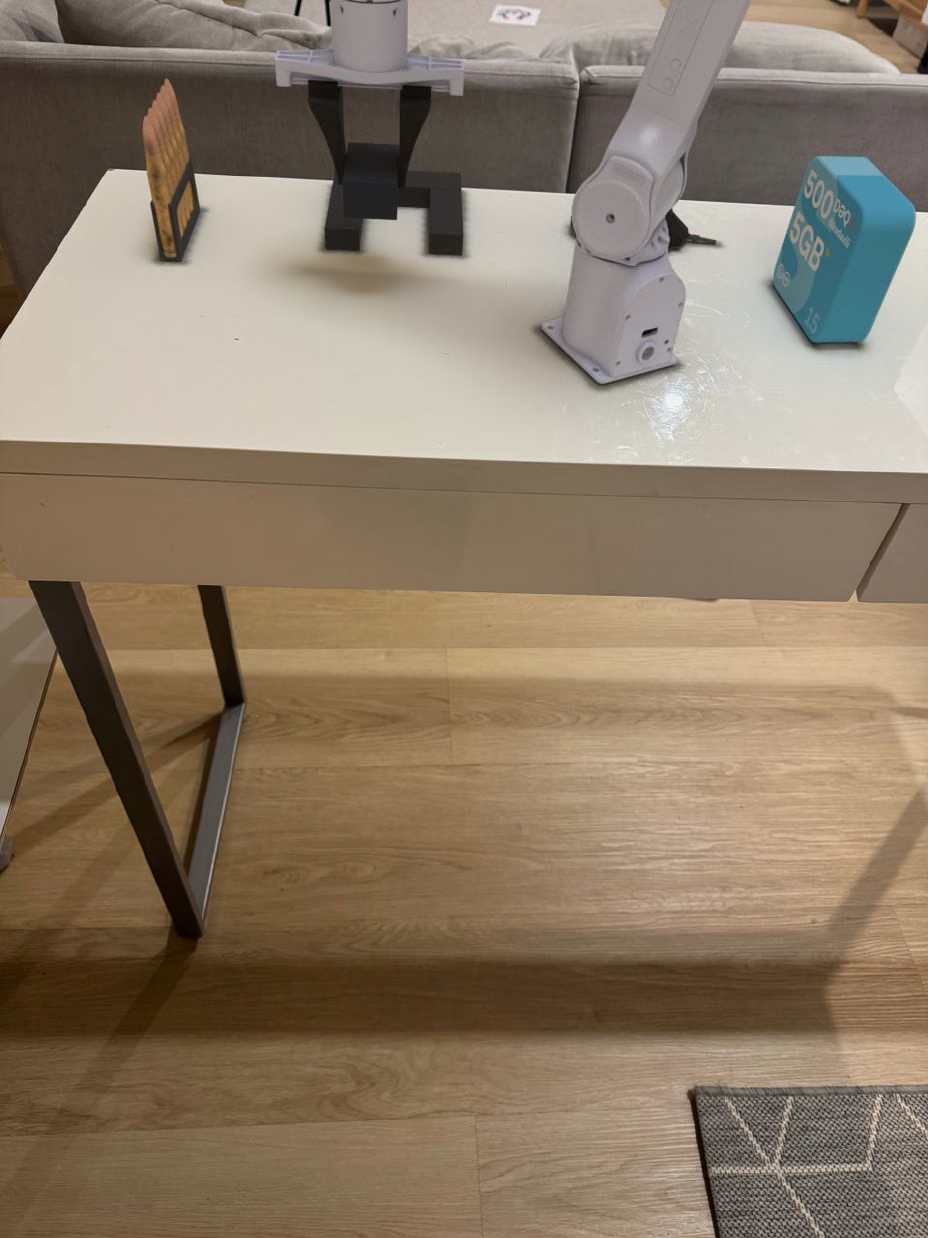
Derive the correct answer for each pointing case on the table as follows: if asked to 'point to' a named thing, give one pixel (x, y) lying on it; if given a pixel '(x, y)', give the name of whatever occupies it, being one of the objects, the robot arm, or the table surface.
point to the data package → (842, 248)
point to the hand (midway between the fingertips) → (372, 181)
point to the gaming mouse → (678, 231)
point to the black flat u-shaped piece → (419, 192)
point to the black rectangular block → (371, 181)
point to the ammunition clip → (170, 176)
